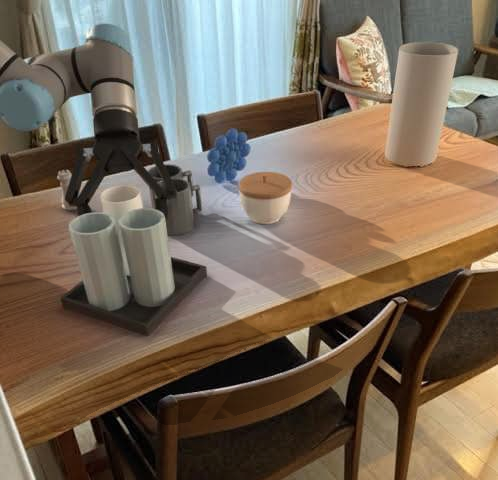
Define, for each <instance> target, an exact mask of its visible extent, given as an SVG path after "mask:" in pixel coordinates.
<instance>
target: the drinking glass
mask: <svg viewBox="0 0 498 480" xmlns="http://www.w3.org/2000/svg"><path fill="white" fill-rule="evenodd" d="M141 193H142V192H141V190H140V189H139V188H138V187H137V186H134V185H129V184H119V185H114V186H110V187H108V188H105V189H104V190H103V191H101V193H100V194H99V200H100V207H101V211H102V212H103V213H107V214H110V215H112V216H113V217H114V219H115V223H116V228H117V233H118V237H119V242H120V247H121V252H122V257H123V262H124V266H125V271H126V275H127V276H130V273H129V269H128V264H127V259H126V254H125V249H124V244H123V239H122V234H121V229H120V224H119V220H120V218H121V216H122V215H124V214H125V213H127V212H129V211H132V210H135V209H141V208H144V202H143V198H142V194H141Z"/></svg>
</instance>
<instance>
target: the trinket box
mask: <svg viewBox="0 0 498 480" xmlns="http://www.w3.org/2000/svg"><path fill="white" fill-rule="evenodd" d="M292 188H293V182H292V180H291V178H289V176H286V175H285V174H282V173H279V172H276V171H275V172H274V171H258V172H252V173H250V174H246V175H245V176H243V177H241V179H240V180H239V181H238V190H239V193H238V194H239V200H240V205H241V207H242V211H243V212H244V213H245V215H246V216H248V217H249V218H250V219H251V220H252V221H253V222H254V223H256V224H259V225H270V224H275V223H277V222H278V221H279V220H280V218H282V217H283V216H284V215H285V214H286V212H287V211H288V208H289V206H290V203H291V198H292Z"/></svg>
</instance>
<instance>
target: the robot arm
mask: <svg viewBox="0 0 498 480" xmlns="http://www.w3.org/2000/svg"><path fill="white" fill-rule="evenodd" d="M128 35H129V34H128V33H127V32H126V31H125V30H123V28H121V27H120V26H117V25H115V24H112V23H98V24H94V25H93V26H92V27H91V28H88V30H87V32H86V34H85V40H84V41H85V43H84V44H82V45H78V46H74V47H72V48H71V47H70V48H66V49H62V50H61V49H60V50H57V51H52V52H47V53H38V54H35V55H34V56H30V57H27V58H24V59H23V57H21V56H19V55H18V54H17V53H16V52H15V51H13V50H12V49H11V48H10V47H9V46H8V45H6V44H5V43H4V42H3V41H2V40H1V39H0V117H1V119H2V121H4V123H6V124H7V125H8V126H10V127H11V128H13V129H15V130H18V131H22V132H32V131H35V130H37V129H39V128H41V127H42V126H43V125H45V124H46V123H47V122H49V121H50V120H51V119H53V117H54V114H55V113H57V111H58V110H59V109H61V107H62V106H64V104H65V103H67V101H68V100H69V99H70V98H74V97H77V96H82V95H87V94H90V100H91V101H90V102H91V113H92V117H93V119H92V124H93V136H94V137H93V138H94V144H93V146H92V147H83V146H82V145H78V146H76V147H75V157H76V160H75V162H74V165H73V169H72V172H71V174H72V176H71V179H70V182H69V185H68V189H67V192H66V195H65V200H66V201H67V203H68V204H69V205H70V206H76V207H77V210H76V211H77V217H78V216H80V215H83V214H87V213H93V212H92V208H91V207H90V205H89V204H90V202H91V200H92V198H93V197H94V195H95V193H96V191H97V190H98V189H99V187H100V185H101V184H102V182H103V180H104V178H105V177H107V175H108V173H109V172H111V173H117V172H120V171H122V172H130V171H131V170H133V171H134V172H135V173H136V174H137V175H138V176H139V177H140V178H141V180H142V181H143V182H144V183H145V185H147V186H148V188H149V187H150V189H151V190H152V191H153V192H154V193H155V194H156V196H157V197H158V198H157V199H155V202H156V210H159V211H161V212H162V213H163V214H164V216H165V220H167V219H168V218H169V212H168V200H169V199H171V198H176V197H177V190H176V187H175V185H174V183H173V181H172V179H171V177H170V175H169V173H168V171H167V169H166V167H165V164H164V161H163V159H162V158H161V155H160V148H159V145H158V144H159V143H158V141H156V140H151V141H150V143H142V142H141V141H140V131H139V120H138V117H137V116H138V109H137V98H136V91H135V90H136V89H135V80H134V79H135V78H134V64H133V60H134V58H133V57H134V56H133V55H132V50H131V49H132V48H131V43H130V38H129V36H128ZM143 153H146V155H147V156H148V158H152V161H153V163H154V165H155V166H156V167H157V169H158V171H159V173H160V175H161V177H162V179H163V181H164V183H165V185H166V187H167V189H168V190H166V191H164V190H163V189H162V188H161V186H160V185H159V184H158V183H157V182H156V181H155V179H154V178H153V177H152V176H151V175H150V173H149V172H148V170H147V169H146V168H145V166H144V165H143V164H142V162H141V161H140V158H141V156H143ZM93 156H94V157H95V158H96V160H98V161H97V162H96V164H95V166H94V170H93V171H92V173H91V174H90V176H89V178H88V179H87V181H86V183H85V184H84V186H83V187H82V189H81V186H82V183H83V180H84V177H85V174H86V171H87V166H88V163H90V161H91V158H92V157H93ZM150 189H149V190H150ZM80 190H81V191H80ZM77 197H78V198H77Z"/></svg>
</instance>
